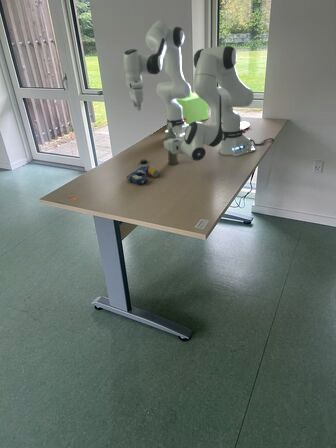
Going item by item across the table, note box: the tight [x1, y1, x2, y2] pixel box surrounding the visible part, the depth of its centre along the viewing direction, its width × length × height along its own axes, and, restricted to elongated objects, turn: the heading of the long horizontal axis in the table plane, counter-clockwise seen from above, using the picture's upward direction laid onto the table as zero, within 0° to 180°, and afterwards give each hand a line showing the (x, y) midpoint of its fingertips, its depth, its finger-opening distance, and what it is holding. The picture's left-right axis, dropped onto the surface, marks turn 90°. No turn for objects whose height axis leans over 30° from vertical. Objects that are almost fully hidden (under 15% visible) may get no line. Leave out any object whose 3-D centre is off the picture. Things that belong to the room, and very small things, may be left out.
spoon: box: [240, 120, 251, 130], centre depth 250 cm, size 35×11×2 cm, turn 159°
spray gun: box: [125, 164, 160, 185], centre depth 188 cm, size 21×4×15 cm
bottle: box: [166, 126, 179, 166], centre depth 199 cm, size 6×6×22 cm
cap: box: [140, 158, 148, 165], centre depth 209 cm, size 4×4×2 cm
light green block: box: [175, 91, 209, 125], centre depth 283 cm, size 25×21×23 cm
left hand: (137, 108), depth 192 cm, fingers open, 8 cm apart
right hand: (177, 138), depth 186 cm, fingers open, 8 cm apart
